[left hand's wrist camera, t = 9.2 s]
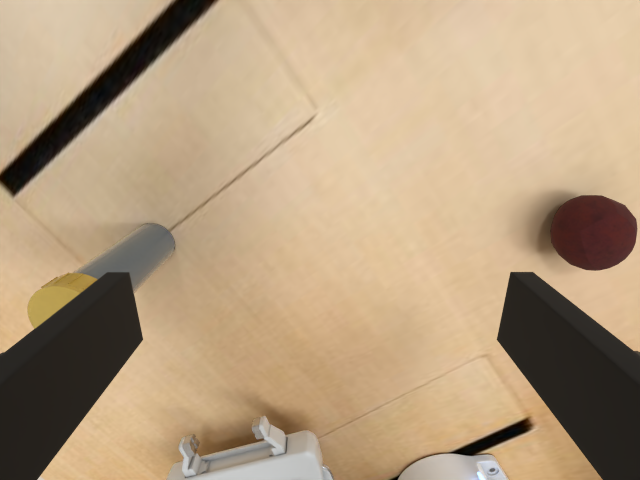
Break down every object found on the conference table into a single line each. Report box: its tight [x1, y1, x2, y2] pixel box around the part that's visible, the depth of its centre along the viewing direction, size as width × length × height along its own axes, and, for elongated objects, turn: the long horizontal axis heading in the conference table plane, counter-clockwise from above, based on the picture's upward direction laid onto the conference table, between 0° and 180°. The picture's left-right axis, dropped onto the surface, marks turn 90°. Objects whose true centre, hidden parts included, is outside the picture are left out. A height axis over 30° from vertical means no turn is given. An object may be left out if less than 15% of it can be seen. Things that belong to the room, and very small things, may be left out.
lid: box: [28, 273, 98, 328], centre depth 28 cm, size 5×5×2 cm
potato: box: [551, 195, 637, 271], centre depth 37 cm, size 7×8×7 cm
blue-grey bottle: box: [73, 223, 175, 293], centre depth 34 cm, size 5×5×15 cm
